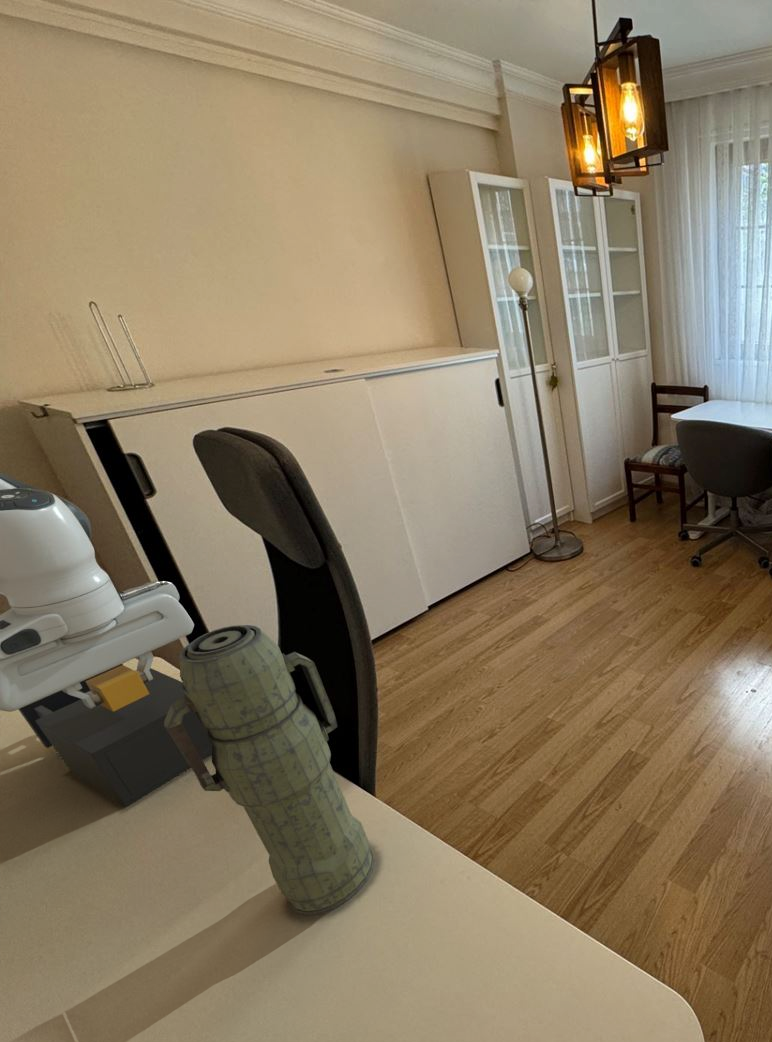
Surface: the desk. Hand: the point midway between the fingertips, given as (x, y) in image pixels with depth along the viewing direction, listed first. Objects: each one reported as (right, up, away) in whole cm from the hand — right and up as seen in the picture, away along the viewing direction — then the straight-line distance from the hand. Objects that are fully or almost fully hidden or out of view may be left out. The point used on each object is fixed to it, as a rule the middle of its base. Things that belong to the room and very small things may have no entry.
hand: (120, 692), depth 78 cm
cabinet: (-2, -12, +7) cm, 14 cm away
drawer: (-13, -9, +11) cm, 19 cm away
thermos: (+38, -20, -11) cm, 44 cm away
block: (0, -1, +1) cm, 1 cm away
